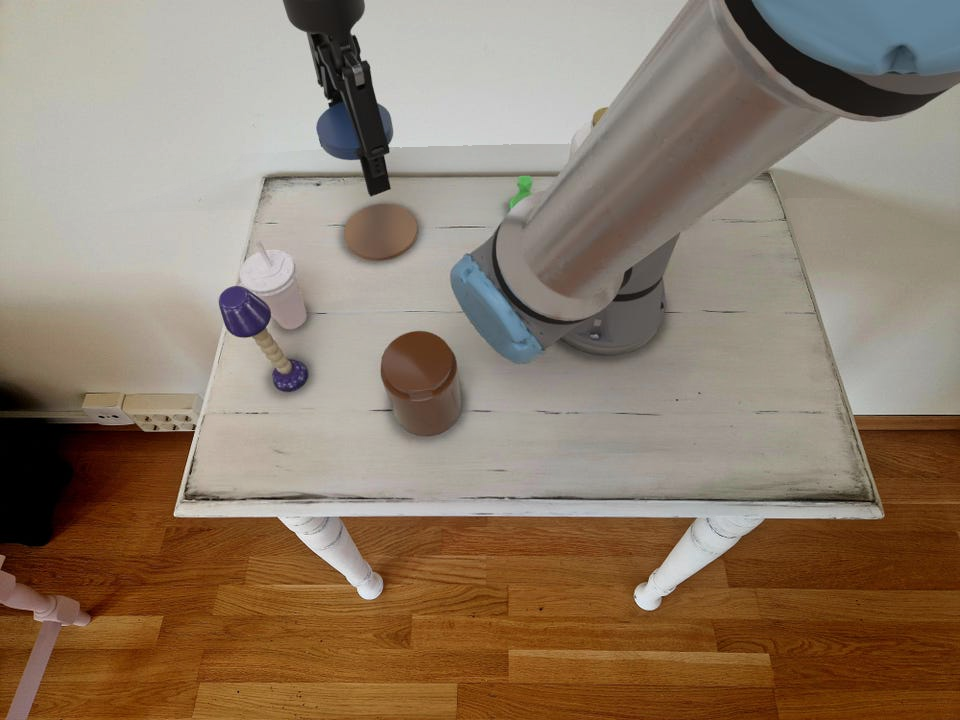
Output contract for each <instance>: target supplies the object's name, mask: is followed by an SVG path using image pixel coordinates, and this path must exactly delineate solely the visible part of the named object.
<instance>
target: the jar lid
mask: <svg viewBox="0 0 960 720" xmlns="http://www.w3.org/2000/svg"><path fill="white" fill-rule="evenodd" d="M377 104H378V108H379V112H380V116H381V120H382V123H383V127H384V131H385V135H386V139H387V143H388V146H389V145H390V144H391V142H392V140H393V138H394V126H393V120H392V116H391V114H390V112H389V110H388V109H387V108H386V107H385V106H384V105H382V104H380V103H378V102H377ZM315 126H316V127H315V128H316V134H317V136H318V141H319V144H320V148H322V149H323V150H324V151H325V153H327V154H328V155H329V156H331V157H334V158H336V159H339V160H343V161H357V160H358V161H360V158H357V157H356V155H355V153H354V151H357V149H358V148H360V147H359V144H358V141H357V139H356V136H355V133H354V130H353V127H352V124H351V121H350V118H349V115H348V113H347V110H346V107H345V104H344V102H341V103H338V104H336V105H334V106H332V107H330V108H329V107H328V108H327V109H325V111H324V112H323V113H322V114H321V115H320V116H319V118H318V119H317V122H316V125H315Z"/></svg>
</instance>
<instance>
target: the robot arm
mask: <svg viewBox="0 0 960 720" xmlns="http://www.w3.org/2000/svg"><path fill="white" fill-rule="evenodd" d="M282 3H283V6H284V10H285V13H286V16H287V19H288V21H289V22H290V23H291V25H292V26H293V27H295V28H296V29H297V30H299V31H301V32H304V33H306V38H307V41H308V45H309V49H310V54H311V58H312V62H313V66H314V70H315V74H316V79H317V84H318V85H319V87H320V88H322V89H323V95H324V98H326V100H327V101H330V102H327V104H328V109H329V108H330V107H332V106H334V105H336V104H338V103H341V102H344V104H345V107H346V110H347V113H348V115H349V118H350V121H351V124H352V127H353V130H354V133H355V136H356V139H357V141H358V144H359V147H360V148H358V149H357V151H354V153H355V155H356V157H357V158H360V160H359V162H360V166H361V170H362V174H363V178H364V182H365V186H366V190H367V194H368V195H369V197H370V198H372V197H374V196H377V195H379V194H382V193H385V192H387V191H390V190H391V189H392V187H391V182H390V178H389V173H388V167H387V162H386V158H385V156H386V155H388V154H391V153H390V152H391V151H390V146H389V145H388V143H387V139H386V135H385V131H384V127H383V123H382V120H381V116H380V112H379V108H378V104H379V103H378V101H377V97H376V93H375V89H374V85H373V79H372V78H373V77H372V73H371V70H372V69H371V64H370V63H369V61H368V60H367V59H364V60H362V58H361V57H362V56H361V52H362V50H361V46H360V43H359V41H358V38H357V36H356V34H352V32H351V31H352V29H353V28H354V26H355V25H356V24H357V23H359V21H360V20H361V19H362V18H363V15H364V14H365V11H366V4H365V0H282ZM959 84H960V0H687V1H686V3H685V4H684V5H683V7H682V8H681V9H680V11H679V12H678V13H677V15H676V16H675V17H674V19H672V21H671V23H670V24H669V26H668V27H667V28H666V29H665V31H664V32H663V33H662V35H661V36H660V37H659V39H658V40H657V41H656V43H655V44H654V46H653V47H652V48H651V49H650V51H649V52H648V54H647V55H646V56H645V58H644V59H643V60H642V61H641V63H640V65H639V66H638V67H637V68H636V69H635V71H634V73H633V74H632V75H631V76H630V77H629V79H628V81H626V83H625V84H624V86H623V87H622V88H621V90H620V91H619V93H617V95H616V97H615V98H614V99H613V101H612V102H611V103H610V105H609V106H607V107H608V109H607V110H606V112H605V113H604V114H603V116H602V117H601V118H600V120H599V121H598V122H597V124H596V125H595V126H594V128H593V129H592V130H591V132H590V133H589V134H588V136H587V137H586V138H585V140H584V141H583V142H582V144H581V145H580V146H579V148H578V149H577V150H576V152H575V153H574V155H573V156H572V157H571V159H570V160H569V159H568V161H567V163H566V164H565V165H564V166H563V168H562V169H561V171H560V172H559V174H558V175H557V176H556V177H555V179H553V181H552V183H551V184H550V185H549V187H547V189H546V190H543V191H538V192H535V193H531V195H529V196H527V197H525V198H523V199H522V200H521V201H519V202H518V203H517V204H516V205H515V206H513V207H512V208H511V210H510V209H509V210H508V212H507V213H506V215H505V216H503V218H502V220H501V222H500V224H499V225H498V226H497V228H496V229H495V231H494V232H493V234H492V235H491V237H489V238H488V239H487V240H486V241H485V242H484V243H483V244H481V245H479V247H477V248H476V249H473V250H472V251H471V252H470V253H468V252H466V253H464V254H463V257H462V258H461V259H460V260H459V261H458V262H456V263H455V264H454V265H453V266H452V268H451V270H450V273H449V275H450V276H449V282H450V286H451V290H452V292H453V294H454V297H455V299H456V301H457V303H458V305H459V307H460V308H461V311H462V312H463V313H464V315H465V316H466V318H467V319H468V321H469V322H470V323H471V325H472V327H473V328H474V329H475V331H477V332H478V334H479V335H480V336H481V337H482V339H483V340H484V341H485V342H486V343H487V344H488V345H489V346H490V347H491V348H492V349H493V350H494V351H495V352H496V353H498V354H499V355H500V356H501V357H502V358H504V359H505V360H506V361H509V362H510V363H513V364H516V365H526V364H529V363H531V362H532V361H533V360H535V359H537V358H538V357H539V356H544V354H545V353H546V350H548V349H549V348H551V346H553V345H554V344H555V343H556V342H558V341H559V340H560V339H561V340H562V341H563V342H565V343H567V344H568V345H569V346H571V347H573V348H575V349H577V350H579V351H582V352H584V353H588V354H591V355H599V356H618V355H623V354H627V353H630V352H631V353H632V352H633V351H636V350H638V349H639V348H641V347H643V346H645V345H646V344H647V343H648V342H650V340H652V339H653V338H654V336H655V335H656V334H657V332H658V330H659V328H660V326H661V324H662V322H663V319H664V316H665V313H666V308H667V307H666V306H667V304H666V303H667V301H666V292H665V285H664V283H665V281H664V275H665V272H666V270H667V268H668V265H669V263H670V260H671V257H672V254H673V252H674V250H675V248H676V245H677V242H678V240H679V237H680V235H681V234H682V233H681V232H682V231H684V230H685V229H687V228H688V227H690V226H691V225H692V224H694V223H695V222H696V221H698V220H699V219H701V218H702V217H704V216H705V215H706V214H708V213H710V211H713V209H715V208H716V207H717V206H719V205H720V204H722V203H723V202H724V201H725V200H727V199H728V198H730V197H732V195H734V194H736V193H737V192H738V191H740V190H741V189H743V187H745V186H747V185H748V184H749V183H751V182H752V181H753V180H755V179H756V178H758V177H759V176H761V175H762V174H764V173H765V172H766V171H768V170H769V169H770V168H772V167H773V166H774V165H775V164H778V163H779V162H780V161H782V160H783V159H784V158H786V157H787V156H789V155H790V154H791V153H793V152H794V151H796V150H798V148H799V147H801V146H803V145H804V144H806V143H807V142H809V140H811V139H812V138H814V137H815V136H817V135H818V134H819V133H821V132H822V131H824V130H825V129H826V128H828V127H829V126H830V125H832V124H833V123H835V122H836V121H837V120H838V119H840V118H844V119H847V120H852V121H857V122H869V123H876V122H889V121H893V120H897V119H901V118H903V117H906V116H907V115H910V114H912V113H914V112H916V111H917V110H919V109H921V108H922V107H924V106H925V105H927V104H928V103H930V102H932V101H933V100H935V99H936V98H938V97H939V96H941V95H942V94H944V93H946V92H947V91H949V90H950V89H952V88H953V87H956V86H958V85H959ZM377 103H378V104H377Z"/></svg>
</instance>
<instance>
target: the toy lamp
mask: <svg viewBox="0 0 960 720" xmlns="http://www.w3.org/2000/svg"><path fill="white" fill-rule="evenodd" d="M218 307H219V311H220V314H221V317H222V320H223V323H224V326H225V328H226V330H227V331H228V332H229V333H230V334H231V335H232V336H234V337H236V338H241V339H245V338H246V339H247V338H252V339H253V340H254V342H255V343H256V345H257V346H259V347H260V351H262V353H263V354H264V355H265V356H266V358H267V359H268V360H269V361H270V363H271V364H272V366H274V369H273V370H272V375H271V376H272V382H273V383H272V384H273V385H274V387H275V388H276V389H277V390H278V391H281V392H283V393H284V392H285V393H288V392H289V393H291V392H295V391H297V390H298V389H300V388H302V387H303V386H304V385H305V384H306V382H307V380H308V378H309V370H308V368H307V366H306V365H305V364H304V363H303V362H302V361H300V360H298V359H292V358H288V357H287V355H286V354H285V353H284V351H283V349H282V348H281V347H280V346H279V343H278V342H277V341H276V340H275V339H274V337H273V336H272V334H271V333H270V332H269V330H268V325H269V324H270V322H271V319H272V318H271V317H272V315H271V311H270V308H269V306H268V305H267V304H266V303H265V302H264V301H263V300H262V299H260V298H259V297H257V296H256V295H255V294H253V293H252V292H251V291H249V290H248V289H246V288H244V286H243V285H242V286H241V285H232V286H230V287H227V288H226V289H224V290H223V291H222V292H221V293H220V295H219V297H218Z"/></svg>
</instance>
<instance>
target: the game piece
mask: <svg viewBox="0 0 960 720" xmlns="http://www.w3.org/2000/svg"><path fill="white" fill-rule="evenodd" d="M533 182H534V181H533V179H532V178H531V176H530V175H519V177H518V180H517V182H516V186H517V187H518V189H519V190H518V192H517V194H516V195H515V196H514V197H513V198H512V199H511V200H510V201H509V211H510V210H511V208H512V207H513V206H515V205H516V204H517V203H518V202H519V201H521V200H522V199H523V198H525V197H527V196H529V195H531V194H532V193H531V189H532V186H533Z"/></svg>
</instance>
